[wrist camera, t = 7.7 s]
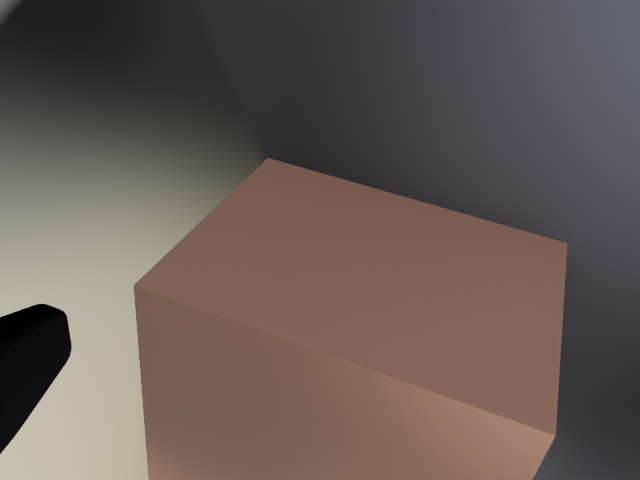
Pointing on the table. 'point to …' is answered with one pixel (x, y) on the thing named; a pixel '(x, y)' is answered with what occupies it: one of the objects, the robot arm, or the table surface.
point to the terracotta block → (349, 339)
